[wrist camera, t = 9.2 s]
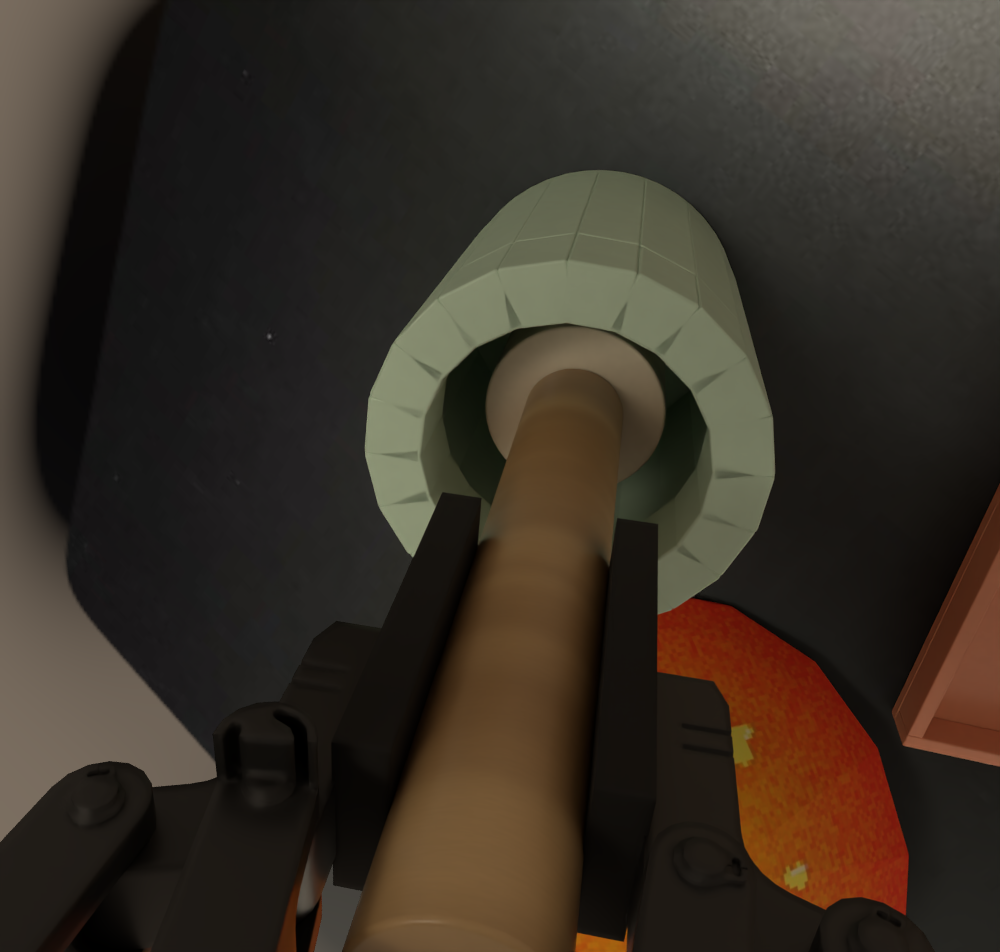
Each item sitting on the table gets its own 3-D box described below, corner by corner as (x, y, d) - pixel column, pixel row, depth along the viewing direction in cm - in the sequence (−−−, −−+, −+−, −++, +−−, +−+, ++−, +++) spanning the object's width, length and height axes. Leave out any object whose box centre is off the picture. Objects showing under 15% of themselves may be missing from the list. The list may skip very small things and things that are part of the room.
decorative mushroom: (778, 903, 44) (828, 1287, 31) (385, 743, 43) (265, 1068, 30) (962, 697, 37) (1130, 1084, 24) (494, 501, 36) (398, 789, 23)
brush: (518, 265, 27) (228, 807, 9) (677, 284, 27) (716, 899, 8) (505, 408, 30) (252, 1076, 11) (651, 429, 29) (636, 1161, 11)
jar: (479, 146, 30) (381, 225, 19) (769, 197, 29) (831, 307, 18) (447, 408, 34) (353, 586, 24) (696, 457, 34) (713, 663, 23)
